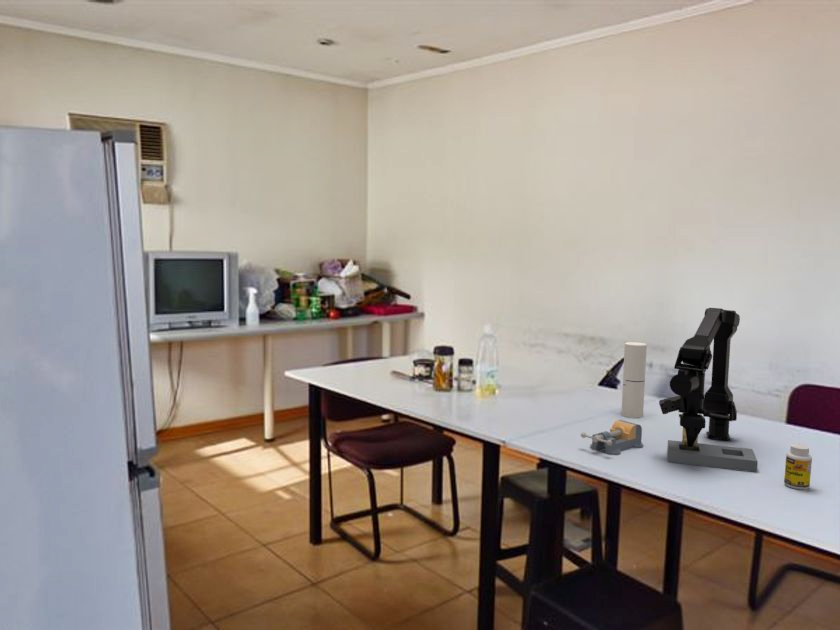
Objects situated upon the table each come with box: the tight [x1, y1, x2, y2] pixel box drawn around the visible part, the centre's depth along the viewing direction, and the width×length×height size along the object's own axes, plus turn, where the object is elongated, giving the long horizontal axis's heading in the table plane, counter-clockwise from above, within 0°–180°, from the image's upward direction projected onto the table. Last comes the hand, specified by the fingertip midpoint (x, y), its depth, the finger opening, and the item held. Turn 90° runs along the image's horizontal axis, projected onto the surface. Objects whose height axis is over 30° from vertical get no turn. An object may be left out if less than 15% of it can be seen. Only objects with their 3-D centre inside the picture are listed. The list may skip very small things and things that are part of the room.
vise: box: [580, 419, 644, 456], centre depth 195 cm, size 18×10×7 cm, turn 128°
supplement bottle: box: [783, 443, 813, 490], centre depth 166 cm, size 6×6×10 cm
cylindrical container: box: [620, 341, 648, 419], centre depth 231 cm, size 7×7×25 cm
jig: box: [666, 439, 759, 473], centre depth 185 cm, size 11×22×3 cm, turn 71°
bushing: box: [681, 426, 699, 451], centre depth 187 cm, size 4×4×8 cm
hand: (689, 444), depth 187 cm, fingers closed on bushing, 4 cm apart
